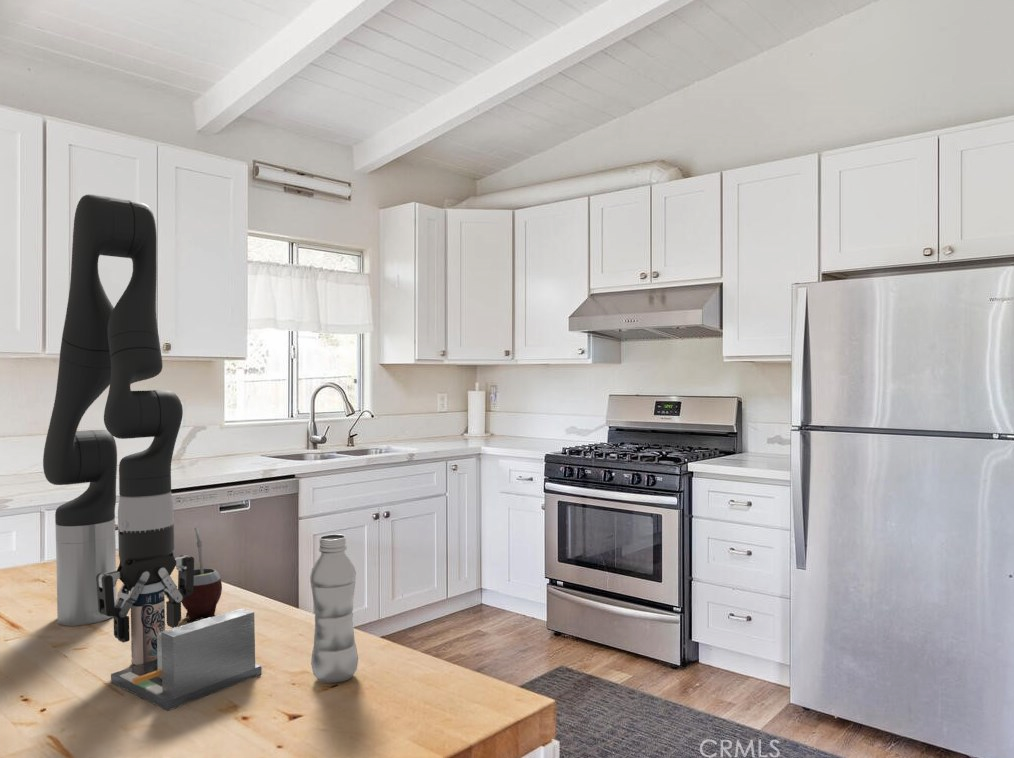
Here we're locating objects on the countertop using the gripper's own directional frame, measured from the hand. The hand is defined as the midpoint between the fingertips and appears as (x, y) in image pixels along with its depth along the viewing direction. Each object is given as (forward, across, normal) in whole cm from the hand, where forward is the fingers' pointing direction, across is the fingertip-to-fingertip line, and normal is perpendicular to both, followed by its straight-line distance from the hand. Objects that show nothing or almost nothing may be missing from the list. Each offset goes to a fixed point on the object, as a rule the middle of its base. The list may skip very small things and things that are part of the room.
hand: (148, 633), depth 112 cm
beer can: (+4, 0, 0) cm, 4 cm away
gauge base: (+4, 0, +10) cm, 11 cm away
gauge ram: (+3, +2, +10) cm, 11 cm away
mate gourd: (+4, -16, -13) cm, 21 cm away
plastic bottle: (+4, -12, +28) cm, 31 cm away
